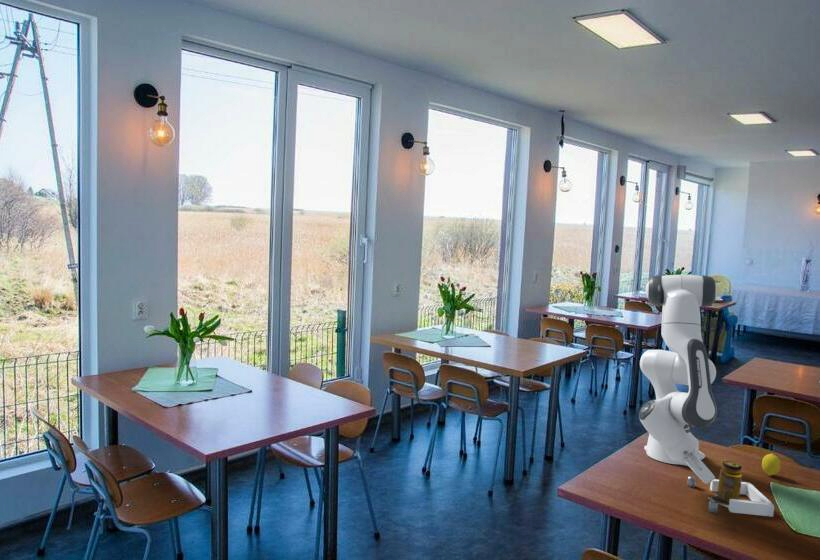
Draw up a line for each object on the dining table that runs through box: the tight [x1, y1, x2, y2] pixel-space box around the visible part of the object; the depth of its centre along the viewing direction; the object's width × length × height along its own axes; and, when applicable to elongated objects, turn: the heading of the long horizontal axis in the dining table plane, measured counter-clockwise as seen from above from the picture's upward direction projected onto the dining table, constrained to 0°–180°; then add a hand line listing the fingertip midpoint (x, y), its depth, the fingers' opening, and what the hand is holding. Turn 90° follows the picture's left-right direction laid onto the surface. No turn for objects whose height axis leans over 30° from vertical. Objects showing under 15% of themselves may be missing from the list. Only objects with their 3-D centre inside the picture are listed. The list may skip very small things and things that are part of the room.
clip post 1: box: [686, 475, 697, 489], centre depth 197 cm, size 2×2×3 cm
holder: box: [709, 478, 775, 518], centre depth 187 cm, size 12×16×4 cm
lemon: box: [761, 452, 781, 477], centre depth 210 cm, size 6×6×8 cm
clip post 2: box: [707, 499, 719, 515], centre depth 179 cm, size 2×2×3 cm
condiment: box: [707, 460, 743, 509], centre depth 187 cm, size 7×8×12 cm
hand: (709, 480), depth 187 cm, fingers closed
